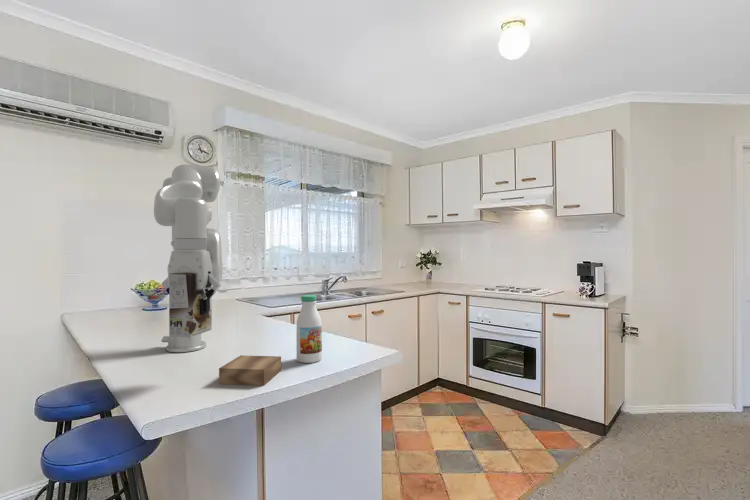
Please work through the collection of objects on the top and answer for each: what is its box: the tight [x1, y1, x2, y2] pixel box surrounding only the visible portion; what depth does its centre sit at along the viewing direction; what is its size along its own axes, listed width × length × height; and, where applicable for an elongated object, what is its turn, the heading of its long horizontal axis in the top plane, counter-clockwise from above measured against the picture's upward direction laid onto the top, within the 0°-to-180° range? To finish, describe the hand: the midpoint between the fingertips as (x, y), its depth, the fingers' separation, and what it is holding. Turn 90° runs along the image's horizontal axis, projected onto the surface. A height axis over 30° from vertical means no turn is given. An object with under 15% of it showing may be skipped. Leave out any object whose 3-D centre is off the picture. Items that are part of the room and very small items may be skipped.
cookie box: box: [168, 273, 213, 338], centre depth 102 cm, size 9×6×16 cm
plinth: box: [218, 354, 282, 386], centre depth 104 cm, size 12×12×4 cm
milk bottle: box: [295, 294, 323, 364], centre depth 120 cm, size 8×8×20 cm
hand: (191, 313), depth 102 cm, fingers closed on cookie box, 6 cm apart
